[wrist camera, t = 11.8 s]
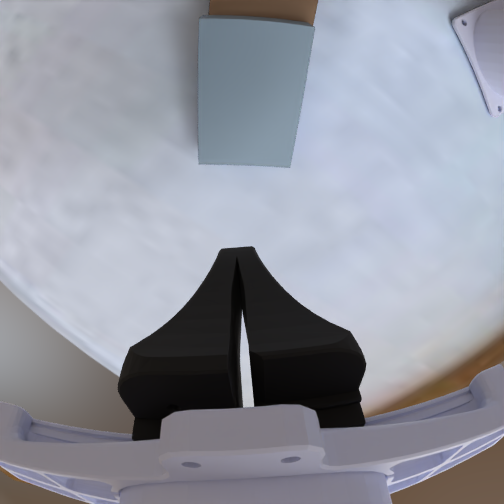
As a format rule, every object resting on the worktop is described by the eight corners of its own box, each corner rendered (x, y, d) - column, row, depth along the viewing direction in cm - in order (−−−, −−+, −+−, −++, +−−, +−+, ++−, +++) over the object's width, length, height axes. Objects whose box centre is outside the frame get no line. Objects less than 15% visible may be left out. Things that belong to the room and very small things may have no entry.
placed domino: (289, 167, 17) (314, 27, 11) (198, 164, 16) (199, 18, 10) (286, 152, 18) (307, 22, 12) (201, 149, 18) (202, 15, 11)
